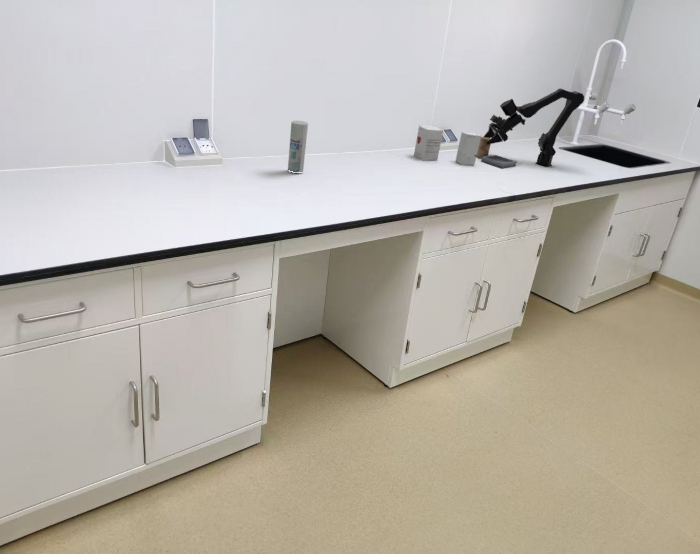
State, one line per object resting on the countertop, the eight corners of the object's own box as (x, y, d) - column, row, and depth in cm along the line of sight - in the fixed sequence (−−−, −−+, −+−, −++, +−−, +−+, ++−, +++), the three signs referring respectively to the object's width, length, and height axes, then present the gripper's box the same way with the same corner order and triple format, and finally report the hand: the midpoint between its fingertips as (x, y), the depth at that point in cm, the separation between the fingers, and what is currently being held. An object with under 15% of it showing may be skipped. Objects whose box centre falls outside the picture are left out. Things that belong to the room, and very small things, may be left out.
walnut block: (484, 156, 308) (489, 137, 303) (487, 159, 303) (491, 140, 299) (475, 155, 307) (479, 136, 303) (477, 158, 303) (482, 138, 298)
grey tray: (515, 166, 296) (516, 161, 295) (501, 168, 288) (502, 163, 287) (495, 159, 304) (496, 154, 303) (481, 161, 296) (482, 156, 295)
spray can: (284, 171, 235) (288, 121, 227) (293, 168, 241) (297, 119, 232) (297, 175, 233) (302, 125, 224) (306, 172, 238) (311, 123, 230)
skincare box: (460, 164, 284) (466, 134, 278) (454, 161, 289) (460, 131, 283) (475, 165, 287) (482, 135, 281) (469, 162, 292) (476, 132, 286)
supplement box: (413, 155, 289) (418, 124, 283) (428, 155, 293) (433, 125, 287) (422, 160, 282) (428, 129, 276) (437, 160, 286) (443, 130, 280)
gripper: (497, 107, 303) (471, 125, 307) (507, 113, 286) (480, 133, 290) (508, 124, 307) (482, 142, 311) (518, 131, 291) (492, 150, 294)
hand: (484, 141), depth 301 cm, fingers open, 9 cm apart
